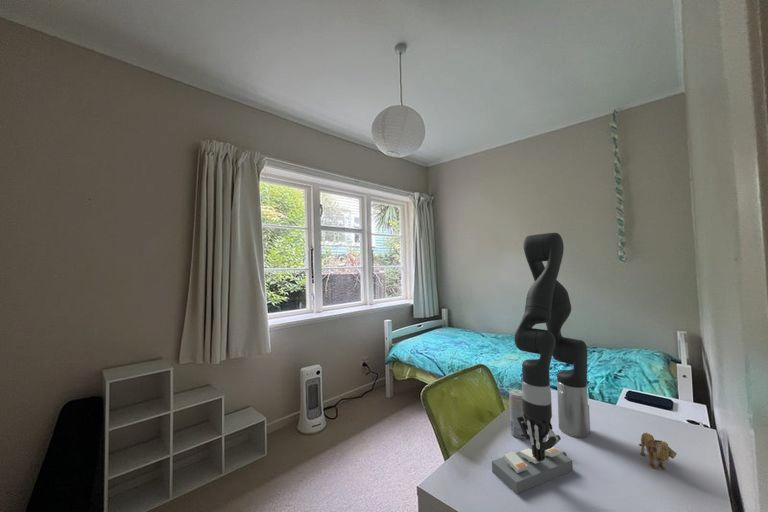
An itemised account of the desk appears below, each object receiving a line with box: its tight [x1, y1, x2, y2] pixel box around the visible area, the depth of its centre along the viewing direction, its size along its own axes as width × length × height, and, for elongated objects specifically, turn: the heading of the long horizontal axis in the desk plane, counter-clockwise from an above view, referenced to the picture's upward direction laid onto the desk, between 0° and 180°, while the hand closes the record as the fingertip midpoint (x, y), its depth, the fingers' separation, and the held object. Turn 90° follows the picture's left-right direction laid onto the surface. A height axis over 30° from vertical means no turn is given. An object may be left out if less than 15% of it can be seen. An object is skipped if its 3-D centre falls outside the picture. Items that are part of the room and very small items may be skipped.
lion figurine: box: [638, 432, 678, 470], centre depth 88 cm, size 15×5×9 cm, turn 164°
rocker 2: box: [545, 446, 561, 457], centre depth 87 cm, size 4×5×2 cm
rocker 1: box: [503, 450, 528, 473], centre depth 82 cm, size 4×5×2 cm
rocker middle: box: [519, 447, 544, 464], centre depth 84 cm, size 4×5×2 cm
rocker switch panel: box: [491, 446, 574, 495], centre depth 85 cm, size 25×9×3 cm, turn 112°
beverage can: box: [508, 388, 528, 439], centre depth 102 cm, size 6×6×15 cm
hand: (538, 459), depth 82 cm, fingers closed
